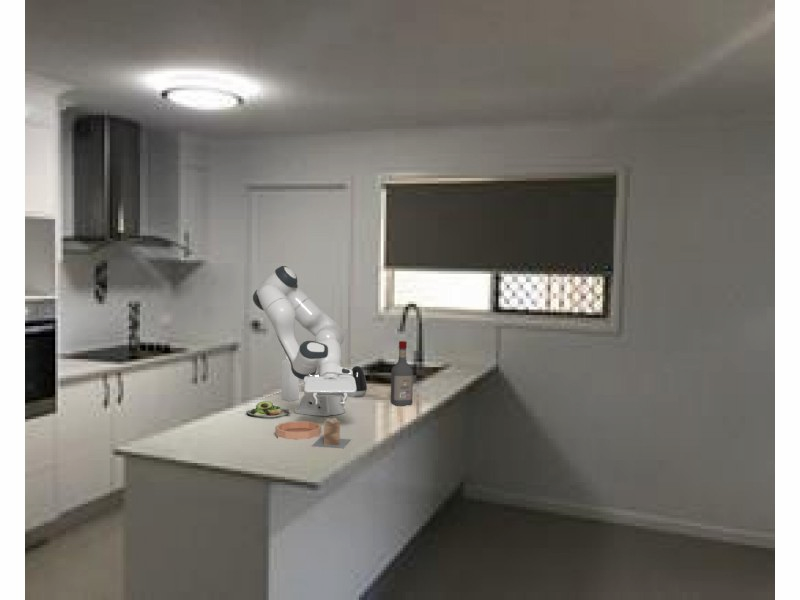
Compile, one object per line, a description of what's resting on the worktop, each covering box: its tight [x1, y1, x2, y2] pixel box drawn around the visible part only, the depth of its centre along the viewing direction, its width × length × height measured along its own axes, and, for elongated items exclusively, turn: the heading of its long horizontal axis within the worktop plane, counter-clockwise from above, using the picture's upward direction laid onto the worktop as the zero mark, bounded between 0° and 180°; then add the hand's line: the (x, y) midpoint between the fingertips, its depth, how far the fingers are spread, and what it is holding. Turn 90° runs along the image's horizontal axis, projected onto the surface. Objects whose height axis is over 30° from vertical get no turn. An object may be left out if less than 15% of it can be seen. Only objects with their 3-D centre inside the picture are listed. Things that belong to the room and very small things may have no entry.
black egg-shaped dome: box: [351, 365, 368, 398], centre depth 330 cm, size 10×10×15 cm
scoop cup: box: [323, 417, 341, 445], centre depth 243 cm, size 6×6×9 cm
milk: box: [281, 354, 300, 402], centre depth 319 cm, size 6×6×22 cm
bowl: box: [274, 420, 322, 440], centre depth 255 cm, size 17×17×4 cm
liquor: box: [390, 340, 414, 407], centre depth 314 cm, size 9×9×30 cm
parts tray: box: [311, 437, 352, 449], centre depth 243 cm, size 12×12×1 cm
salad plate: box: [245, 400, 292, 420], centre depth 289 cm, size 19×18×5 cm
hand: (330, 404), depth 251 cm, fingers open, 8 cm apart
